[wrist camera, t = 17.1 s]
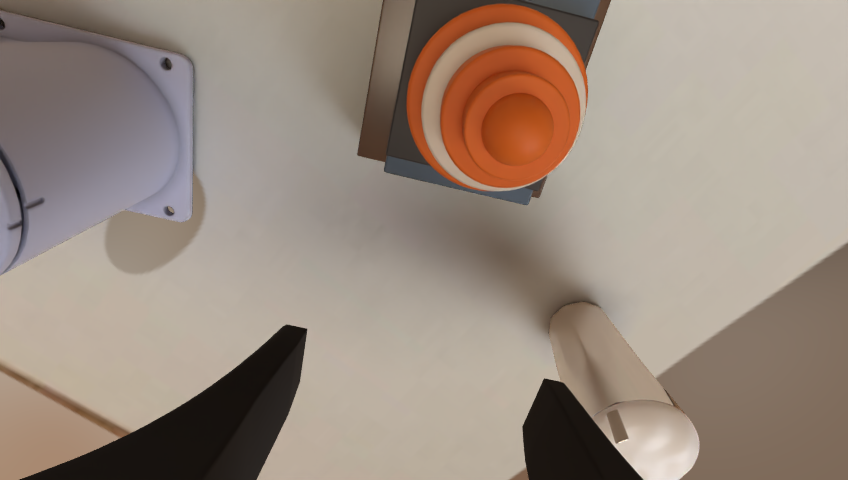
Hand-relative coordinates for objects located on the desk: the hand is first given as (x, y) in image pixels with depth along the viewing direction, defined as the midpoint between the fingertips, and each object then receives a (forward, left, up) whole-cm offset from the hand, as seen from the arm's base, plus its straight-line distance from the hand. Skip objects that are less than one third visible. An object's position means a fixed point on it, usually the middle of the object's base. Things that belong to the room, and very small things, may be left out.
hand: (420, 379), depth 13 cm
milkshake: (+9, -3, -11) cm, 14 cm away
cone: (0, +8, -4) cm, 9 cm away
